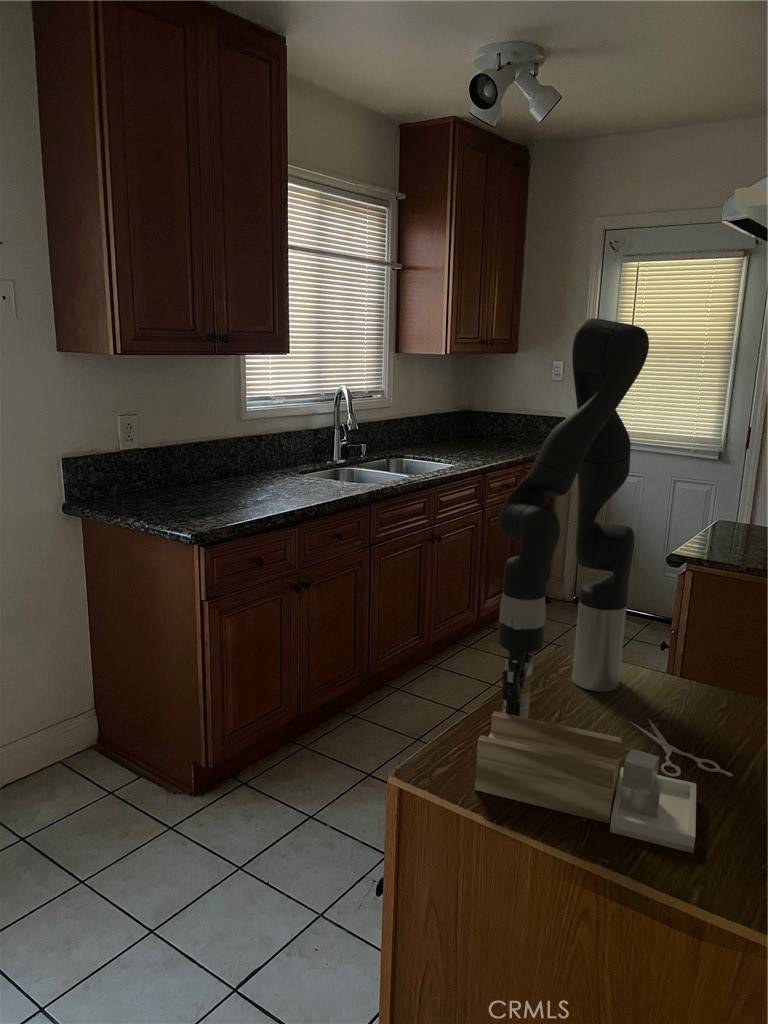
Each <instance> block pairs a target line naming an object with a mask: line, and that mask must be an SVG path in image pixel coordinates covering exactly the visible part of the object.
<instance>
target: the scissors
mask: <svg viewBox="0 0 768 1024" xmlns="http://www.w3.org/2000/svg"><path fill="white" fill-rule="evenodd" d="M647 719H648V721H649V724H650V726H651V728H652V730H653V732H654V734H655V735H656V736H655V735H653V734H652V733H651V732H649V731H647V730H646V729H643V728H642V727H640V726H639V725H637V724H635V723H633V722H632V721H630V723H631V724H632V725H634V726H635V727H636V728H638V729H639V730H640V731H641V732H643V734H645V735H646V736H648V737H649V738H650V739H652V741H654V742H656V743H657V744H659V745H660V746H661V747H662V750H664V752H665V755H666V756H665V757H664V759H665V762H664V763H662V764H661V766H660V770H661V772H662V773H663V774H665V775H667V776H668V777H671V778H673V777H674V778H676V777H679V776H681V774H682V771H681V768H680V766H679V765H676V764H674V763H672V761H671V760H670V756H671V755H672V752H673V753H675V754H678V755H682V756H685V757H688V758H690V759H692V760H693V761H695V762H696V763H697V767H698V768H700V769H702V770H705V771H708V772H711V773H715V772H717V773H721V774H723V775H726V776H728V777H733V773H731V772H729V771H726V770H723V769H721V767H720V765H719V764H718V763H716V762H715V761H713V760H710V759H706V758H700V757H697V756H696V757H695V756H694V755H692V754H691V753H687V752H683V751H681V750H680V749H678V748H677V747H675V746H673V745H671V744H669V743H668V742H667V740H666V739H665V737H664V736H663V735H662V734H661V732H660V731H659V730H658V728H657V727H656V726H655V724H653V722H652V721H651V720H650V719H649V718H647ZM702 763H707V764H710V765H712V766H713V767H715V768H709V767H707V766H705V765H704V764H702ZM665 767H671V768H674V769H675V771H676V772H675V773H670V772H668V771H666V770H665Z"/></svg>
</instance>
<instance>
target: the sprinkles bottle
mask: <svg viewBox="0 0 768 1024" xmlns="http://www.w3.org/2000/svg"><path fill="white" fill-rule="evenodd" d="M523 669H524V667H523ZM504 670H506V667H505V666H504ZM531 674H532V675H533V663H532V662H530V666H529V670H528V671H527V679H526V685H525V686H524V687H523V688H522V694H521V696H522V698H521V701H520V716H519V717H524V718H529V709H530V696H531V679H532V676H531ZM522 676H523V675H522ZM521 681H522V678H521V679H519V682H521ZM510 692H514V691H510ZM514 693H515V692H514ZM506 703H507V700H504V699H503V705H502V713H505V714H506Z"/></svg>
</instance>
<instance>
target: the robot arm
mask: <svg viewBox="0 0 768 1024" xmlns="http://www.w3.org/2000/svg"><path fill="white" fill-rule="evenodd" d="M649 348H650V340H649V335H648V333H647V331H646V329H644V328H642V327H640V326H638V325H635V324H629V323H625V322H619V321H614V320H609V319H602V318H592V317H591V318H588V319H585V320H584V321H583V322H582V323H580V325H579V327H578V328H577V330H576V333H575V334H574V339H573V345H572V353H571V355H572V357H571V360H572V371H573V372H572V373H573V380H574V381H573V382H574V391H575V398H576V399H575V400H576V408H577V409H576V410H575V411H574V412H572V413H571V414H570V415H569V416H567V417H566V418H565V419H564V420H562V421H560V423H558V424H557V425H556V426H555V427H554V428H553V429H552V430H551V431H550V432H549V434H548V435H547V437H546V438H545V440H544V442H542V443H543V444H542V445H541V448H540V450H539V452H538V453H537V456H536V458H535V459H534V462H533V463H532V466H531V469H530V470H529V472H528V473H527V474H526V475H525V476H524V477H523V478H522V479H521V481H520V482H519V483H518V484H517V486H516V487H515V488H514V489H513V491H512V492H511V493H510V494H509V496H508V497H507V499H506V500H505V501H504V503H503V505H502V507H501V509H500V512H499V514H498V515H499V516H498V528H499V531H500V533H501V534H502V535H503V536H504V537H505V538H507V539H509V540H511V541H514V542H516V543H518V544H521V550H520V553H519V555H516V556H514V555H513V556H512V557H509V558H508V559H507V560H506V562H505V563H504V569H503V579H502V594H501V599H500V605H499V619H498V637H497V642H498V644H499V646H500V647H501V648H503V649H505V650H507V651H508V652H509V653H508V656H506V657H505V662H504V668H505V667H506V670H505V669H503V671H502V699H503V701H504V700H507V703H506V714H510V715H515V716H520V701H521V698H522V696H521V694H522V688H523V687H524V686H525V685H526V679H527V671H528V670H529V666H530V662H532V664H533V662H534V654H535V653H536V652H539V651H540V650H542V649H543V646H544V641H545V640H544V637H545V625H546V611H547V606H546V605H547V604H546V590H547V579H548V578H547V576H548V575H547V573H548V570H549V568H550V565H551V563H552V560H553V557H554V554H555V551H556V548H557V546H558V543H559V540H560V534H561V524H560V520H559V517H558V514H557V513H556V511H554V509H552V508H551V507H549V506H546V505H545V504H546V503H547V502H548V501H549V500H550V499H551V498H554V497H562V496H565V495H566V494H567V493H569V491H570V489H571V487H572V484H573V483H574V481H575V479H576V477H577V492H578V494H577V495H578V498H577V499H578V500H577V501H578V503H577V505H578V507H577V508H578V509H577V521H576V535H575V558H576V562H577V563H578V565H580V567H583V568H586V569H591V570H599V571H604V572H605V571H606V572H612V575H611V576H609V577H607V578H605V579H602V580H601V579H600V580H596V581H591V582H588V583H584V584H583V585H582V586H581V587H580V589H579V593H578V594H579V595H578V608H577V621H576V629H575V630H576V631H575V642H574V654H573V665H572V677H571V679H572V682H573V683H574V685H576V686H577V687H579V688H582V689H585V690H587V691H591V692H599V693H600V692H601V693H602V692H604V693H605V692H612V691H615V690H617V689H618V688H619V685H620V676H621V666H622V656H623V648H624V646H623V644H624V637H625V626H626V615H627V608H628V607H627V605H628V592H629V586H630V585H629V584H630V574H631V570H632V569H631V567H632V561H633V557H634V550H635V541H636V540H635V533H634V532H635V531H634V530H633V528H632V527H630V526H627V525H622V524H612V523H611V524H610V523H603V522H596V518H597V516H598V515H599V513H600V512H601V510H602V509H603V507H604V505H605V504H606V503H607V502H609V500H610V499H611V498H612V497H614V495H615V494H616V493H617V492H618V491H619V490H620V488H621V487H622V486H623V485H624V483H625V482H627V481H626V480H627V479H628V477H629V473H630V470H631V469H630V467H631V466H630V465H631V447H632V446H631V439H630V435H629V432H628V430H627V427H626V426H625V425H624V422H623V421H622V419H621V417H620V415H619V413H618V412H617V408H618V407H619V405H620V403H621V402H622V401H623V399H624V398H625V396H626V395H627V393H628V392H629V390H630V389H631V387H632V386H633V385H634V383H635V381H636V380H637V378H639V377H638V376H639V375H640V373H641V371H642V370H643V367H644V365H645V363H646V361H647V357H648V354H649ZM523 667H524V669H523ZM522 675H523V676H522ZM532 675H533V673H532V674H531V677H532ZM521 678H522V681H521V682H519V679H521ZM510 691H514V692H515V693H514V692H510Z"/></svg>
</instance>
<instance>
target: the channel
mask: <svg viewBox="0 0 768 1024" xmlns="http://www.w3.org/2000/svg"><path fill="white" fill-rule="evenodd" d="M621 747H622V737H619V736H615V735H611V734H605V733H600V732H595V731H591V730H587V729H581V728H576V727H572V726H567V725H562V724H557V723H553V722H552V723H551V722H548V721H543V720H538V719H534V718H529V717H528V718H524V717H519V716H515V715H510V714H505V713H503V712H500V711H493V713H492V714H491V727H490V733H489V735H488V736H487V735H482V734H480V735H479V737H478V739H477V747H476V748H477V749H476V762H475V763H476V764H475V767H476V768H475V780H474V781H475V783H474V790H475V791H478V792H482V793H487V794H489V795H494V796H498V797H502V798H506V799H510V800H514V801H517V802H522V803H525V804H530V805H533V806H538V807H542V808H546V809H548V810H549V809H550V810H554V811H558V812H563V813H566V814H570V815H573V816H578V817H581V818H586V819H591V820H594V821H597V822H598V821H599V822H601V823H607V824H610V823H611V816H612V811H613V806H614V801H615V796H616V791H617V786H618V778H619V776H618V775H619V768H620V767H619V766H620V765H619V764H620V756H621Z"/></svg>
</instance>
